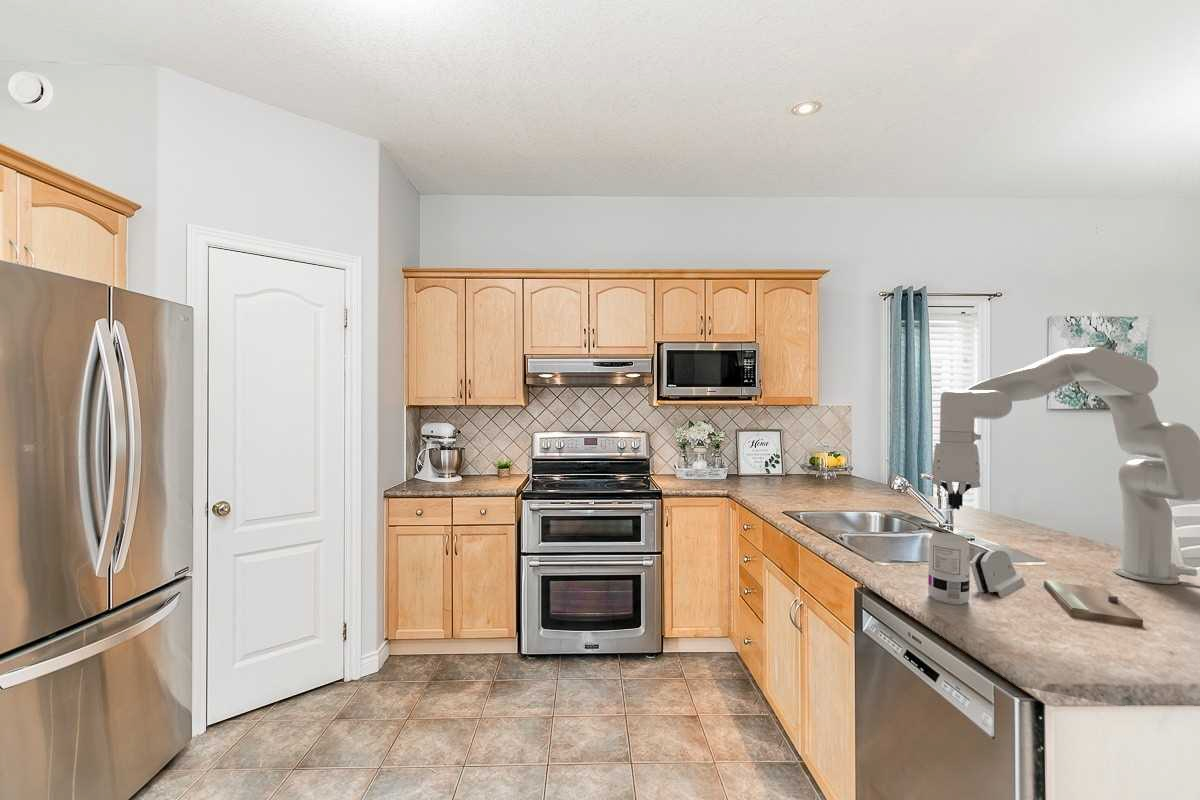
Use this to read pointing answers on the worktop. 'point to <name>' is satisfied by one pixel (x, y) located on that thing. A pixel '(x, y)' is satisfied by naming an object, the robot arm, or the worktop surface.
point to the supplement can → (949, 568)
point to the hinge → (995, 573)
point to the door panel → (1092, 603)
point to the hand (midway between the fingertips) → (955, 508)
